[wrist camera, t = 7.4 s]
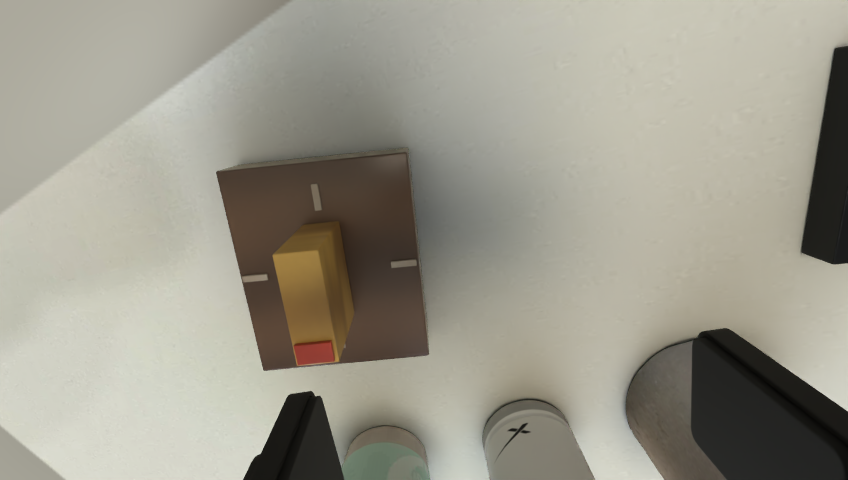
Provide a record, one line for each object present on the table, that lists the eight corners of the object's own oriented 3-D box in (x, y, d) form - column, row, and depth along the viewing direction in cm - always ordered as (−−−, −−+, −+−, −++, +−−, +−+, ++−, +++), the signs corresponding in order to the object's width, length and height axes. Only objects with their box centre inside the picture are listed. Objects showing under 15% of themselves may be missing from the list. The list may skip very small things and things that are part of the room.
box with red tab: (302, 224, 23) (269, 256, 18) (339, 220, 23) (317, 251, 18) (320, 316, 24) (295, 369, 19) (354, 313, 24) (338, 365, 19)
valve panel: (238, 164, 25) (213, 171, 22) (408, 147, 25) (406, 152, 22) (278, 345, 28) (262, 373, 25) (428, 331, 28) (429, 357, 25)
